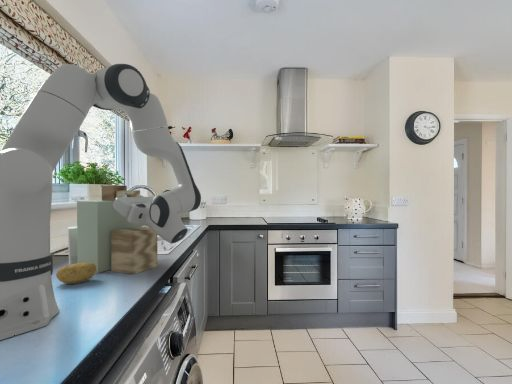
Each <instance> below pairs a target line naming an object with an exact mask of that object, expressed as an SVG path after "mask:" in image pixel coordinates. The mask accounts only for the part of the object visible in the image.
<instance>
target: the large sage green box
mask: <svg viewBox="0 0 512 384" xmlns="http://www.w3.org/2000/svg"><path fill="white" fill-rule="evenodd" d="M113 203H114V201H102V199H101V200H78V201H76V226H77V263H88V262H90V263H94V264H95V266H96V273H95V274H99V273H104V272H106V271H110V270H111V231H112V230H120V229H127V228H134V227H143V226H142V225H143V224H138V223H130V222H128V221H127V218H126V217H124V216H122V215H121V214H120V213H118V212H117V211H116V210H115V209H114V208H113Z"/></svg>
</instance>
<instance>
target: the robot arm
mask: <svg viewBox="0 0 512 384" xmlns="http://www.w3.org/2000/svg"><path fill="white" fill-rule="evenodd" d="M146 81H147V80H146V79H145V77H144V76H143V75H142V73H141V72H140V71H139V70H138V69H137V68H136V67H135V66H133V65H131V64H128V63H127V64H126V63H116V64H112V65H110V66H107V67H104V68H101V69H99V70H97V71H95V72H93V73H90V72H89V71H87V70H86V69H84V68H83V67H80V66H79V65H76V64H71V63H65V64H62V65H59V67H57V68H56V69H55V70H54V71H53V72H52V73H51V74H50V75H49V76H48V77H47V78H46V79H45V80H44V82H42V84H41V86H40V87H39V89H38V90H37V92H36V93H35V95H34V96H33V97H32V100H31V101H30V102H29V103H28V105H27V107H26V109H24V110H23V111H24V112H23V113H22V115H21V116H20V117H19V119H18V121H17V122H16V125H15V126H14V128H13V130H12V132H11V133H10V135H9V137H8V139H7V140H6V142H5V144H4V145H3V147H2V149H0V341H2V340H4V339H5V340H6V339H9V338H12V337H15V336H18V335H21V334H24V333H27V332H30V331H34V330H37V329H41V328H43V327H47V326H48V325H49V324H50V322H51V319H53V318H54V317H55V316H56V315H58V314H59V311H60V309H59V306H58V303H57V301H56V298H55V293H54V287H53V281H52V276H53V272H54V271H53V269H54V263H53V261H54V260H53V254H52V253H51V215H52V213H51V212H52V198H53V197H52V196H53V178H54V176H53V174H54V173H53V172H54V170H56V167H57V166H58V164H59V162H60V161H61V159H62V157H64V155H65V153H66V151H67V150H68V149H69V147H70V145H71V143H72V142H73V140H74V138H75V137H76V135H77V133H78V131H79V130H80V128H81V127H82V124H83V123H84V121H85V120H86V117H87V115H88V113H89V111H90V110H91V109H92V107H94V108H96V109H100V110H103V111H111V110H116V109H117V110H118V109H119V110H122V111H123V113H124V115H126V116H127V118H128V121H129V124H130V129H131V135H132V137H133V138H132V139H133V141H134V143H135V146H136V148H137V149H138V150H139V151H140V152H141V153H143V154H145V155H146V156H148V157H151V158H157V159H162V160H164V161H166V162H168V163H169V164H170V165H171V167H172V171H173V172H174V176H175V178H176V181H177V187H175V188H173V189H170V190H166V191H164V192H161V193H159V194H156V195H154V196H144V195H141V194H140V197H128V194H127V193H122V195H121V197H117V198H116V199H115V201H114V203H113V208H114V209H115V210H116V211H117V212H118V213H120V214H121V215H122V216H124V217H126V218H127V221H128V222H130V223H138V224H142V225H143V226H147V228H152V229H153V230H154V232H155V233H156V234H157V237H160V238H161V239H162V240H164V241H165V242H167V243H169V244H176V243H178V242H179V241H181V240H182V239H184V238H185V237H186V236H187V233H188V231H189V229H188V227H187V226H186V225H185V224H184V223H183V220H182V217H181V216H182V215H184V214H187V213H190V212H192V211H196V210H197V209H199V207H200V205H201V202H202V201H201V200H202V195H201V192H200V189H199V188H198V186H197V185H196V182H195V180H194V176H193V174H192V172H191V169H190V167H189V163H188V161H187V158H186V154H185V153H184V150H183V149H182V146H181V145H180V144H179V143H178V141H175V139H174V138H173V137H172V134H171V132H170V129H169V127H168V121H167V118H166V115H165V112H164V111H165V110H164V108H163V106H162V104H161V101H160V100H159V98H158V96H157V95H156V94H153V93H151V91H150V88H149V87H148V84H147V82H146ZM14 335H15V336H14Z"/></svg>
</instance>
